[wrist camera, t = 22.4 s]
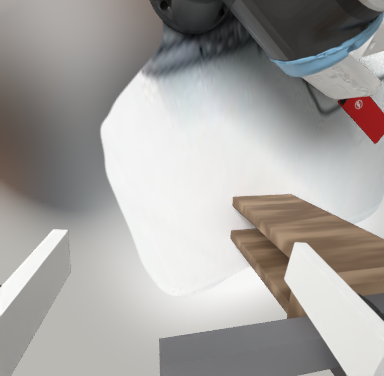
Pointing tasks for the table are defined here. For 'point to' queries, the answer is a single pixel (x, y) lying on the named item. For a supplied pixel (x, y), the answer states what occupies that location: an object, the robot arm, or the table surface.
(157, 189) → the table surface
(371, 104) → the electronic device
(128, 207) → the table surface
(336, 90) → the cable organizer
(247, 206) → the shelf
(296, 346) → the grey t-shaped block
